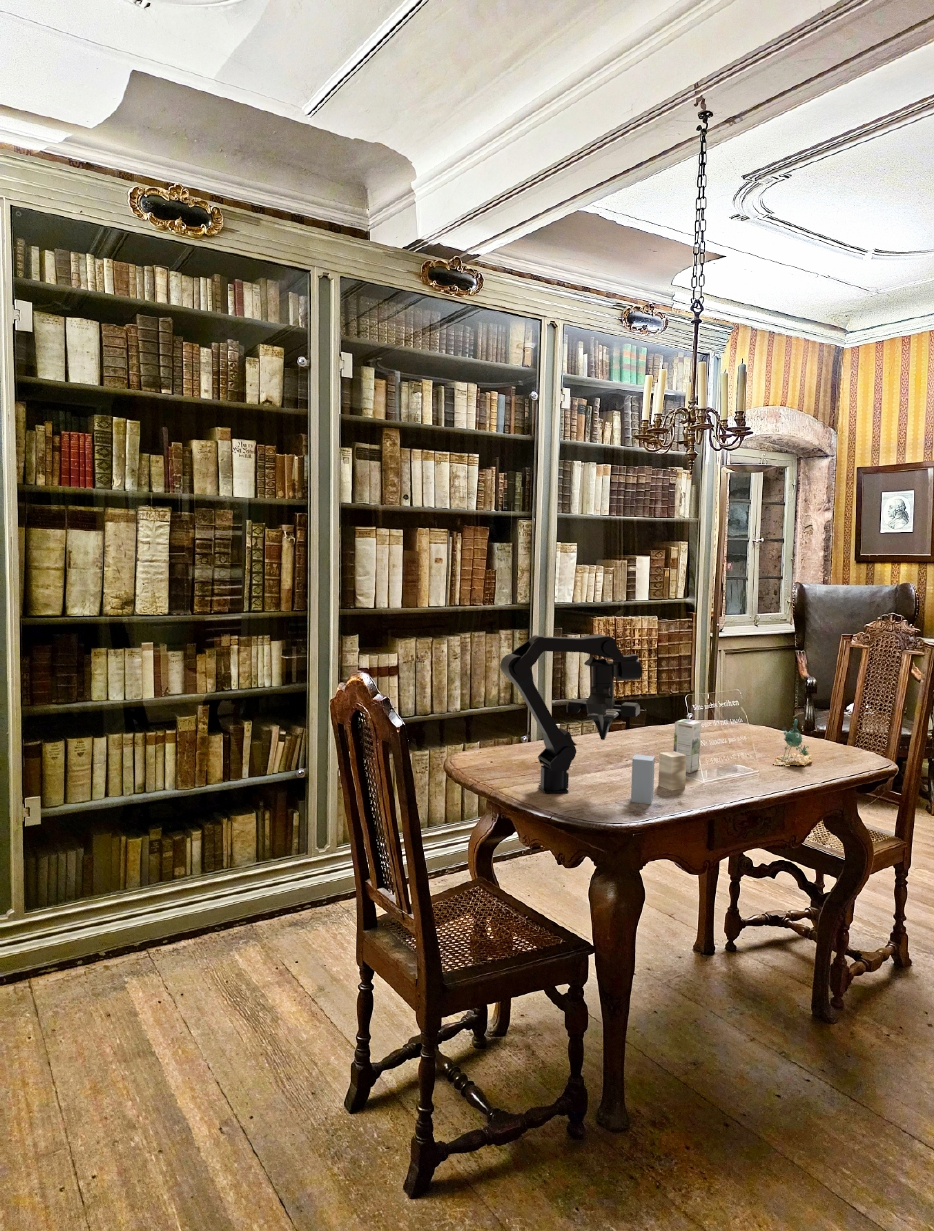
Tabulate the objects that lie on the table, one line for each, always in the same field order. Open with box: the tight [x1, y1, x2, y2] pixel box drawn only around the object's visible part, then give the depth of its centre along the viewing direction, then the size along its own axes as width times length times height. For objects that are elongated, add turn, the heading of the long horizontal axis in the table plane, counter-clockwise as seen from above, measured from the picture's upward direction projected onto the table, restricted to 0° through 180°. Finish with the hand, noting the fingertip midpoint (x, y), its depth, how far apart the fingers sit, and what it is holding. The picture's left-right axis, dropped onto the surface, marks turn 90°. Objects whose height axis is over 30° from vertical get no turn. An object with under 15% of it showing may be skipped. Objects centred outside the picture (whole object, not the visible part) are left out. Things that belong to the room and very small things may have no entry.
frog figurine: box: [773, 718, 812, 766], centre depth 247 cm, size 10×18×15 cm, turn 116°
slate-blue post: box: [630, 754, 656, 805], centre depth 206 cm, size 5×5×11 cm
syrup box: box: [673, 718, 702, 774], centre depth 236 cm, size 6×6×14 cm
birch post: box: [657, 750, 687, 791], centre depth 219 cm, size 5×5×9 cm
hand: (603, 739), depth 217 cm, fingers closed
